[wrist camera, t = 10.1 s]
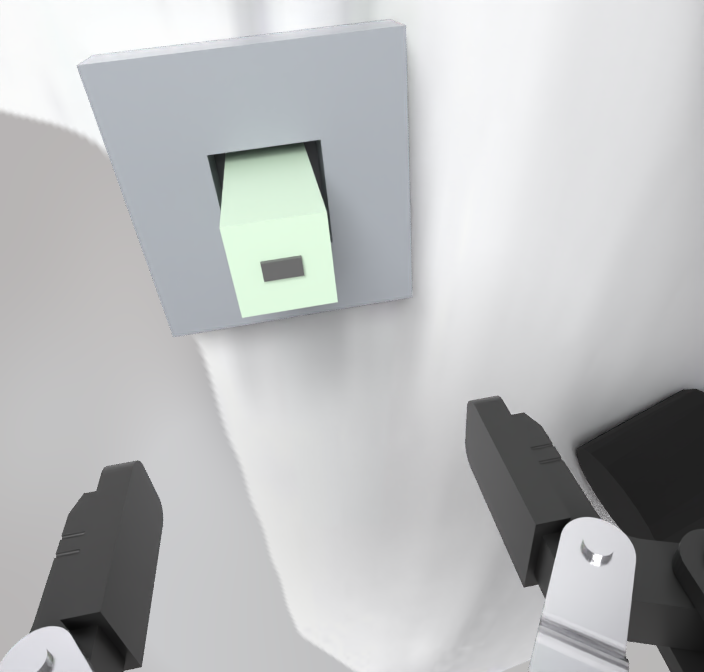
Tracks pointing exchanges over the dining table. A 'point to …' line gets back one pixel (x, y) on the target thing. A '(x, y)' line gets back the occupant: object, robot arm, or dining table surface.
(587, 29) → the dining table surface
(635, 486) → the bottle
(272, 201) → the block
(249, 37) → the plate
